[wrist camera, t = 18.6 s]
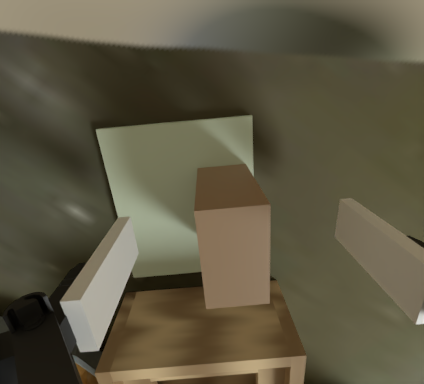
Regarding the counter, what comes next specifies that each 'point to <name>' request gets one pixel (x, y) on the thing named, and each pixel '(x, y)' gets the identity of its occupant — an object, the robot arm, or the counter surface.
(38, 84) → the counter surface
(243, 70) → the counter surface
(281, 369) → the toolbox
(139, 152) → the lid
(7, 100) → the counter surface
